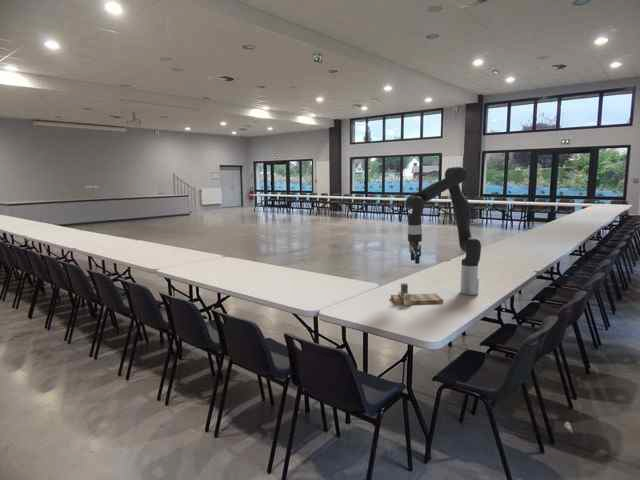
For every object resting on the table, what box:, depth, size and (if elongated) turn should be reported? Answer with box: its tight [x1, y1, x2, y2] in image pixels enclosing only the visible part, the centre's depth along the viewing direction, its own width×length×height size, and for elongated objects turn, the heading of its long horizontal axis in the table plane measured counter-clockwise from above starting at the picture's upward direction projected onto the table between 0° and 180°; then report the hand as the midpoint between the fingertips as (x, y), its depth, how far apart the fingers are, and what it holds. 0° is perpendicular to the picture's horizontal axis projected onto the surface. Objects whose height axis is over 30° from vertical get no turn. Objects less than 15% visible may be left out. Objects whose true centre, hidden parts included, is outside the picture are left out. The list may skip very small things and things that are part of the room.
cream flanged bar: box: [397, 282, 413, 306], centre depth 225 cm, size 4×15×10 cm, turn 3°
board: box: [390, 293, 444, 306], centre depth 227 cm, size 26×12×2 cm, turn 93°
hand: (414, 261), depth 224 cm, fingers open, 8 cm apart
